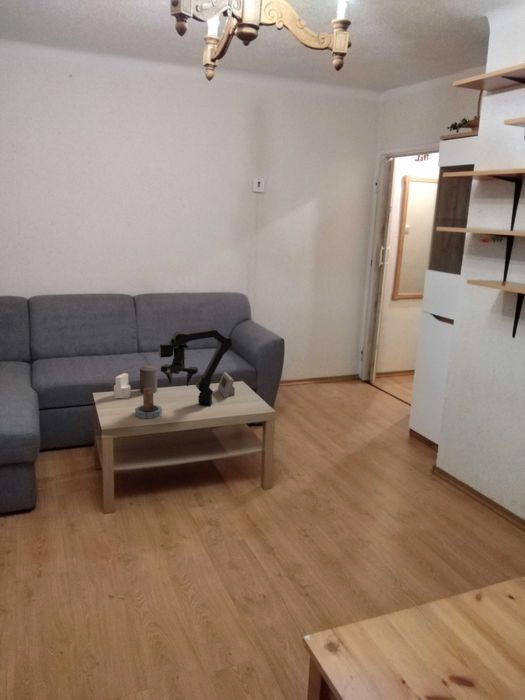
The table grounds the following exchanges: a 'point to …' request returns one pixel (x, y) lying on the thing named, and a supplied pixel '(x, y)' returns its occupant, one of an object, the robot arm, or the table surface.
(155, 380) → the pillar candle
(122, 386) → the cylinder with rectangular tab
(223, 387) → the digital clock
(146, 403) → the brown tapered cylinder
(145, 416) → the ceramic ring dish
